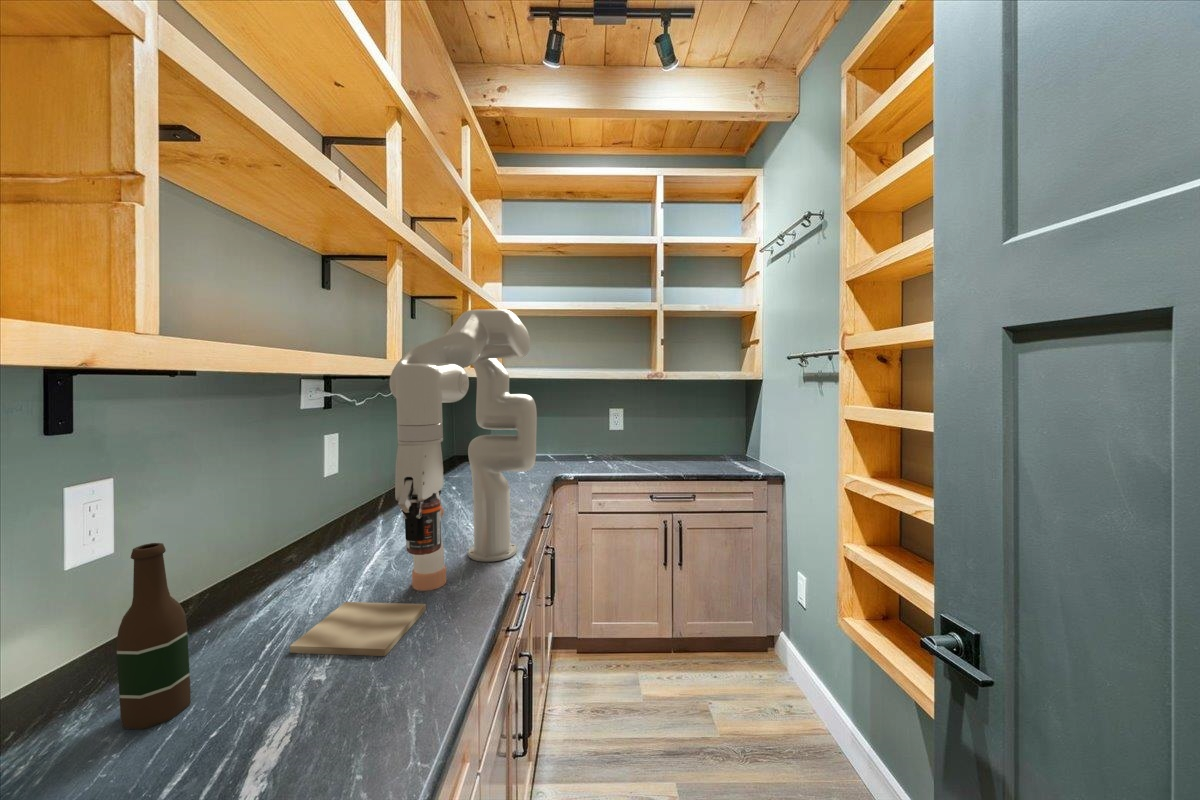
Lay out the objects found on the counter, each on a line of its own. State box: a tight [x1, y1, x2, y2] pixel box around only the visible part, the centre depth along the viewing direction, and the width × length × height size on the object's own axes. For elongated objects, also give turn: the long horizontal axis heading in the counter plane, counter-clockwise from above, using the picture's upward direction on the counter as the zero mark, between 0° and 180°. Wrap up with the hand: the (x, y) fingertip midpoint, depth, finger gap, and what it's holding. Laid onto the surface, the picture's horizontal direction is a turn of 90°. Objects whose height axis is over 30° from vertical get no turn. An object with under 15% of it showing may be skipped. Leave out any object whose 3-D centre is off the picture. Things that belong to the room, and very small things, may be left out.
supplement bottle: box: [405, 493, 442, 555], centre depth 86 cm, size 6×6×11 cm
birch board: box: [289, 601, 427, 657], centre depth 90 cm, size 16×17×1 cm
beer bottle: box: [116, 542, 192, 730], centre depth 68 cm, size 8×8×24 cm
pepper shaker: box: [411, 505, 447, 592], centre depth 109 cm, size 7×7×19 cm
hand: (423, 532), depth 86 cm, fingers closed on supplement bottle, 6 cm apart
